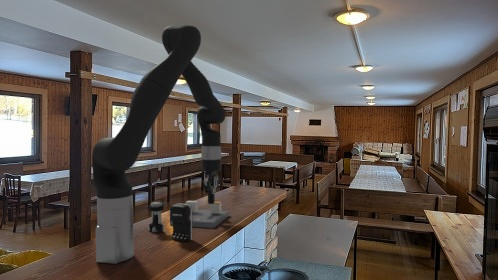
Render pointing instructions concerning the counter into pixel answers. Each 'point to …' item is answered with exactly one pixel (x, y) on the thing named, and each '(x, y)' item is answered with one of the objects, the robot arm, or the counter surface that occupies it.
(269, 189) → the counter surface
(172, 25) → the robot arm
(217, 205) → the handle
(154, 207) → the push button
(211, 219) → the breaker board
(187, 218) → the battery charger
